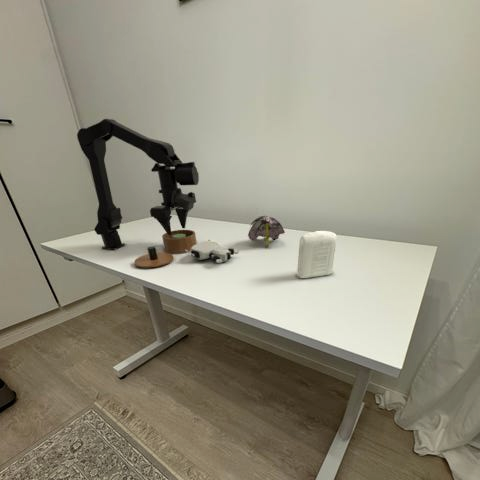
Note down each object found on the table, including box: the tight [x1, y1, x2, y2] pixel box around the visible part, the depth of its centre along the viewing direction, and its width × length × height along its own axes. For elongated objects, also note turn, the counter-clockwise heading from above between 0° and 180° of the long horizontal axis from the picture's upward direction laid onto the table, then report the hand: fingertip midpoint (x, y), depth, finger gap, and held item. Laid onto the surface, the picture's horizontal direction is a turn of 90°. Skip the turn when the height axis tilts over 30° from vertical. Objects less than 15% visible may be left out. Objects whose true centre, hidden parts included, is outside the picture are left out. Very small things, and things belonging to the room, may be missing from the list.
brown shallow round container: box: [161, 229, 198, 255], centre depth 105 cm, size 12×12×5 cm
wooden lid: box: [134, 245, 174, 269], centre depth 94 cm, size 13×13×5 cm
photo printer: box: [296, 230, 338, 279], centre depth 77 cm, size 10×4×12 cm, turn 103°
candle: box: [172, 234, 186, 239], centre depth 105 cm, size 5×5×4 cm
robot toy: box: [185, 239, 239, 264], centre depth 94 cm, size 12×4×15 cm
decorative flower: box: [247, 215, 286, 248], centre depth 103 cm, size 14×12×15 cm
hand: (177, 231), depth 103 cm, fingers open, 9 cm apart
